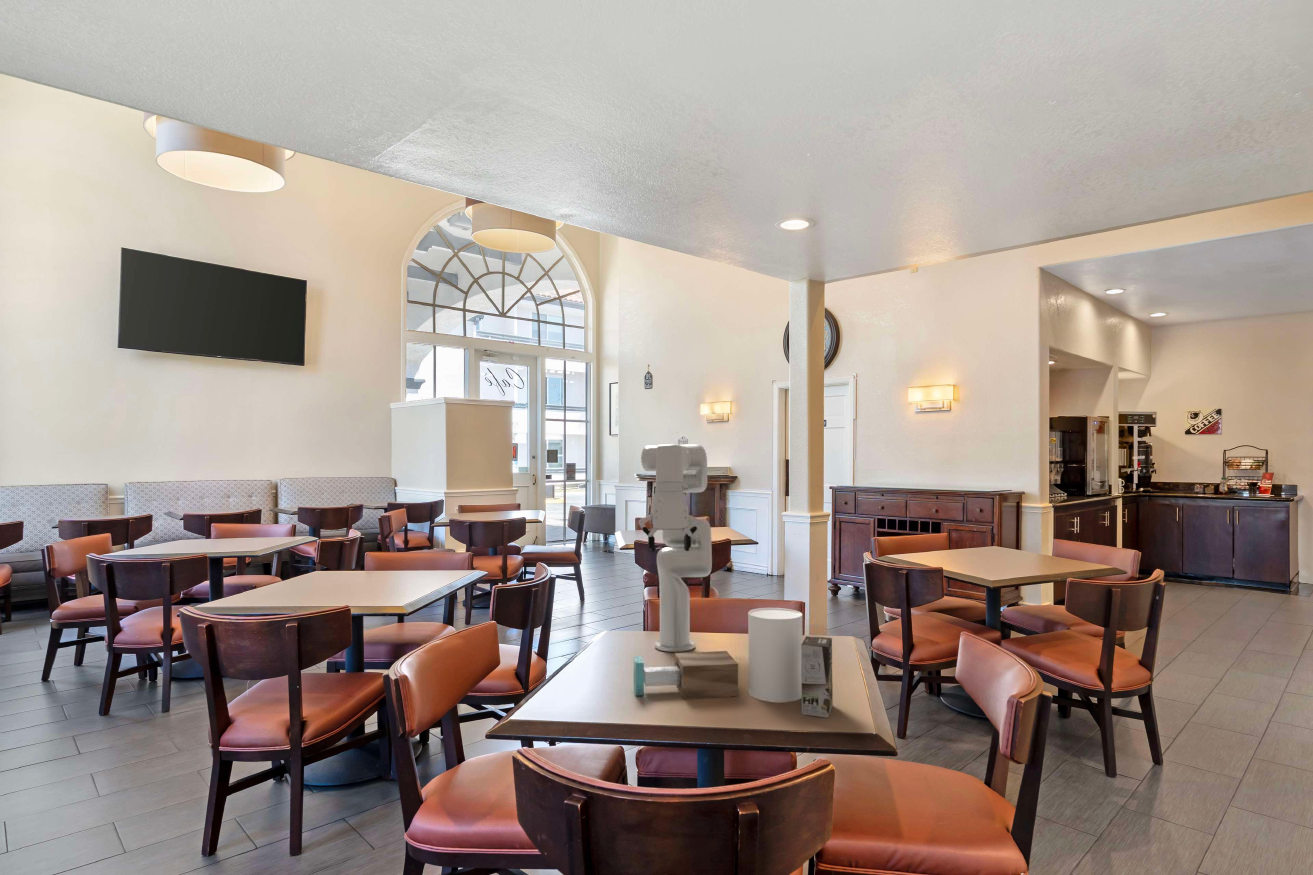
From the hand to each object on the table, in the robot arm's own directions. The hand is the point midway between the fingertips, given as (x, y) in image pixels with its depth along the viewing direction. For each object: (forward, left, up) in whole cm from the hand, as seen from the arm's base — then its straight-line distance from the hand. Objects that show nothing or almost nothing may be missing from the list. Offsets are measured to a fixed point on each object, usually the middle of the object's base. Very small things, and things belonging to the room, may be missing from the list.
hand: (669, 550), depth 190 cm
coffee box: (+31, +30, -34) cm, 55 cm away
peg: (+13, -4, -34) cm, 36 cm away
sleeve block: (+13, +7, -34) cm, 37 cm away
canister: (+18, +24, -34) cm, 46 cm away
